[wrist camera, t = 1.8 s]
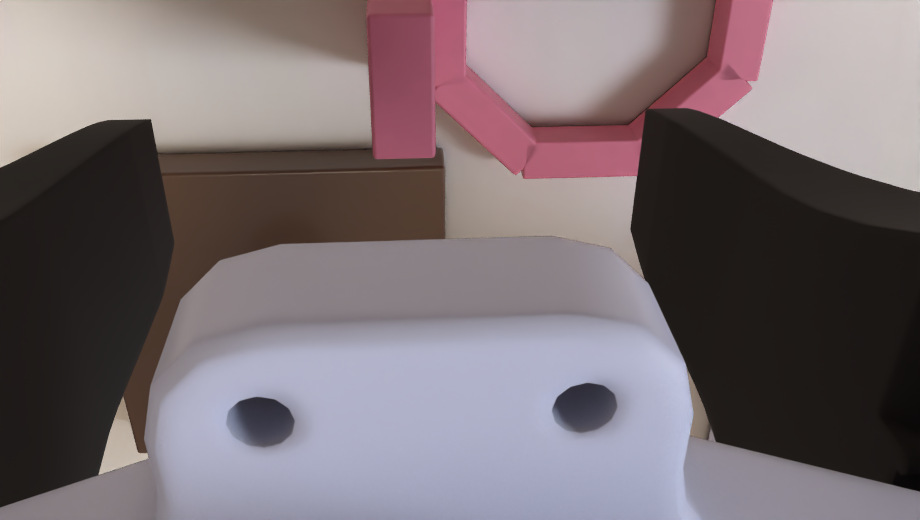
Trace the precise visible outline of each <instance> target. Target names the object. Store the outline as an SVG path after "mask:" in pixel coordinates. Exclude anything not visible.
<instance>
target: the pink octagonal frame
mask: <svg viewBox="0 0 920 520" xmlns="http://www.w3.org/2000/svg"><path fill="white" fill-rule="evenodd" d="M772 3H773V0H716V4H715V10H714V16H713V22H712V29H711V35H710V41H709V47H708V53H707V57H706V58H705V59H704V60H703V61H702V62H700V63H699V64H698V65H697V66H696V67H695V68H694V69H692V70H691V71H690V72H689V73H688V74H687V75H685V76H684V77H683V78H682V79H681V80H680V81H679V82H677V83H676V84H675V85H674V86H673V87H672V88H671V89H669V90H668V91H667V92H666V93H665V94H664V95H663V96H661V97H660V98H659V99H658V100H657V101H656V102H654V103H653V104H652V105H651V106H650V107H649V108H648V109H660V108H689V109H694V110H698V111H701V112H704V113H707V114H709V115H712V116H714V117H717V118H718V117H719V116H721V115H722V114H723V113H724V112H725V111H727V110H728V109H729V108H730V107H731V106H733V105H734V104H735V103H736V102H737V101H739V100H740V99H741V98H742V97H743V96H744V95H746V94H747V93H748V92H749V91H750V90H751V89H752V87H751V86H750V84H749V83H748V82H747V81H757V80H758V75H759V70H760V65H761V60H762V55H763V49H764V44H765V39H766V34H767V29H768V24H769V19H770V13H771V8H772ZM466 20H467V0H367V11H366V28H367V48H368V67H369V87H370V107H371V127H372V147H373V156H374V158H375V159H411V158H433V157H434V156H435V154H436V130H435V103H437V104H438V105H439V106H440V107H441V108H442V109H443V110H444V111H445V112H446V113H447V114H449V115H450V116H451V117H452V118H453V119H454V120H455V121H456V122H457V123H458V124H459V125H461V126H462V127H463V128H464V129H465V130H466V131H467V132H468V133H469V134H470V135H471V136H473V137H474V138H475V139H476V140H477V141H478V142H479V143H480V144H481V145H482V146H483V147H485V148H486V149H487V150H488V151H489V152H490V153H491V154H492V155H493V156H494V157H495V158H497V159H498V160H499V161H500V162H501V163H502V164H503V165H504V166H505V167H506V168H507V169H508V170H510V171H511V172H512V173H513V174H515V175H516V174H518V173H519V172H520V171H521V173H522V176H523V178H524V179H538V178H577V177H616V176H637V173H638V166H639V158H640V150H641V142H642V134H643V126H644V118H645V111H646V110H645V111H644V112H643V113H642V114H641V115H640V116H638V117H637V118H636V119H635V120H634V121H633V122H631V123H630V124H629V125H610V126H565V127H531V126H530V125H529V124H528V123H527V122H526V121H524V120H523V119H522V118H521V117H520V116H519V115H518V114H517V113H516V112H515V111H514V110H513V109H512V108H511V107H510V106H509V105H508V104H507V103H506V102H505V101H504V100H503V99H502V98H501V97H500V96H499V95H498V94H496V93H495V92H494V91H493V90H492V89H491V88H490V87H489V86H488V85H487V84H486V83H485V82H484V81H483V80H482V79H481V78H480V77H479V76H478V75H477V74H476V73H475V72H474V71H473V70H472V69H471V68H469V67H468V66H467V65H466Z"/></svg>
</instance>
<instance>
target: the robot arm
mask: <svg viewBox="0 0 920 520" xmlns="http://www.w3.org/2000/svg"><path fill="white" fill-rule="evenodd" d="M631 233H632V237H633V240H634V244H635V248H636V252H637V256H638V259H639V262H640V266H641V269H642V272H643V275H644V279H645V280H644V279H643V278H642V277H641V276H640V275H639V274H638V273H637V272H636V271H635V270H634V269H632V268H631V267H630V266H629V265H628V264H627V263H626V262H625V261H624V260H623V259H622V258H621V257H620V256H618V255H617V254H616V253H615V252H614V251H613V250H612V249H611V248H608V247H603V246H598V245H594V244H589V243H584V242H579V241H574V240H569V239H564V238H560V237H555V236H530V237H497V238H465V239H432V240H400V241H367V242H335V243H302V244H279V245H276V246H272V247H268V248H264V249H261V250H257V251H253V252H249V253H246V254H242V255H238V256H234V257H230V258H227V259H223V260H219V262H218V263H217V264H216V265H215V266H214V267H213V268H212V269H211V270H210V271H209V272H208V273H207V274H206V275H205V276H204V277H203V278H202V279H201V280H200V281H199V282H198V283H197V284H196V285H195V286H194V287H193V288H192V289H191V290H190V291H189V292H188V293H187V294H186V295H185V296H184V297H183V298H182V299H181V300H180V303H179V306H178V309H177V311H176V314H175V317H174V320H173V323H172V326H171V329H170V331H169V334H168V337H167V340H166V343H165V346H164V349H163V351H162V354H161V357H160V360H159V363H158V366H157V368H156V371H155V374H154V377H153V380H152V383H151V386H150V393H149V401H148V409H147V418H146V426H145V435H144V441H145V445H146V449H147V453H148V457H149V459H146V460H143V461H140V462H137V463H134V464H131V465H128V466H125V467H122V468H119V469H116V470H113V471H110V472H107V473H104V474H101V475H98V474H99V470H100V466H101V462H102V459H103V455H104V451H105V447H106V443H107V440H108V436H109V432H110V429H111V427H112V424H113V421H114V418H115V415H116V412H117V409H118V406H119V404H120V402H121V399H122V397H123V394H124V392H125V389H126V387H127V385H128V382H129V380H130V377H131V375H132V372H133V370H134V367H135V365H136V363H137V360H138V358H139V355H140V353H141V350H142V348H143V346H144V343H145V341H146V338H147V336H148V333H149V331H150V328H151V326H152V323H153V321H154V318H155V316H156V313H157V311H158V308H159V306H160V303H161V300H162V298H163V295H164V291H165V286H166V282H167V278H168V274H169V269H170V264H171V259H172V254H173V249H174V244H175V242H174V237H173V232H172V226H171V221H170V216H169V211H168V206H167V201H166V195H165V190H164V185H163V180H162V175H161V170H160V164H159V159H158V154H157V149H156V144H155V139H154V133H153V128H152V123H151V119H145V120H107V121H103V122H98V123H95V124H92V125H90V126H87V127H85V128H83V129H80V130H78V131H76V132H74V133H72V134H69V135H67V136H65V137H63V138H61V139H59V140H57V141H55V142H53V143H51V144H49V145H47V146H45V147H43V148H41V149H39V150H37V151H35V152H33V153H31V154H28V155H26V156H24V157H22V158H20V159H18V160H16V161H14V162H12V163H10V164H8V165H6V166H3V167H1V168H0V520H920V192H916V191H912V190H907V189H903V188H900V187H896V186H893V185H889V184H886V183H883V182H879V181H876V180H872V179H869V178H865V177H862V176H859V175H856V174H853V173H850V172H847V171H844V170H841V169H838V168H835V167H833V166H830V165H828V164H825V163H822V162H820V161H817V160H814V159H812V158H809V157H807V156H804V155H802V154H799V153H797V152H794V151H792V150H790V149H787V148H785V147H783V146H780V145H778V144H776V143H773V142H771V141H769V140H767V139H764V138H762V137H760V136H758V135H755V134H753V133H751V132H749V131H747V130H744V129H742V128H740V127H738V126H735V125H733V124H731V123H729V122H726V121H724V120H722V119H719V118H717V117H714V116H712V115H709V114H707V113H704V112H701V111H698V110H694V109H689V108H660V109H646V111H645V118H644V126H643V134H642V142H641V150H640V158H639V166H638V173H637V181H636V189H635V197H634V205H633V213H632V221H631ZM686 367H687V368H686ZM687 369H688V371H689V373H690V375H691V377H692V379H693V382H694V384H695V386H696V388H697V391H698V393H699V396H700V398H701V400H702V403H703V405H704V408H705V411H706V414H707V417H708V420H709V423H710V426H711V430H710V434H709V439H708V440H706V439H701V438H697V437H693V436H689V435H690V430H691V425H692V420H693V415H694V413H693V407H692V400H691V394H690V387H689V381H688V374H687Z"/></svg>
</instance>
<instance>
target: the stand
mask: <svg viewBox="0 0 920 520" xmlns="http://www.w3.org/2000/svg"><path fill="white" fill-rule="evenodd" d="M158 159H159V164H160V170H161V175H162V180H163V185H164V190H165V195H166V201H167V206H168V211H169V216H170V221H171V226H172V232H173V237H174V242H175V244H174V249H173V254H172V259H171V264H170V269H169V274H168V278H167V282H166V286H165V291H164V295H163V298H162V300H161V303H160V306H159V308H158V311H157V313H156V316H155V318H154V321H153V323H152V326H151V328H150V331H149V333H148V336H147V338H146V341H145V343H144V346H143V348H142V350H141V353H140V355H139V358H138V360H137V363H136V365H135V367H134V370H133V372H132V375H131V377H130V380H129V382H128V385H127V387H126V389H125V392H124V394H123V396H124V400H125V403H126V407H127V411H128V415H129V419H130V423H131V427H132V431H133V435H134V439H135V442H136V446H137V450H138V452H139V453H147V449H146V445H145V441H144V435H145V426H146V418H147V409H148V401H149V393H150V386H151V383H152V380H153V377H154V374H155V371H156V368H157V366H158V363H159V360H160V357H161V354H162V351H163V349H164V346H165V343H166V340H167V337H168V334H169V331H170V329H171V326H172V323H173V320H174V317H175V314H176V311H177V309H178V306H179V303H180V300H181V299H182V298H183V297H184V296H185V295H186V294H187V293H188V292H189V291H190V290H191V289H192V288H193V287H194V286H195V285H196V284H197V283H198V282H199V281H200V280H201V279H202V278H203V277H204V276H205V275H206V274H207V273H208V272H209V271H210V270H211V269H212V268H213V267H214V266H215V265H216V264H217V263H218V262H219V260H223V259H227V258H230V257H234V256H238V255H242V254H246V253H249V252H253V251H257V250H261V249H264V248H268V247H272V246H276V245H279V244H302V243H335V242H367V241H400V240H432V239H445V164H444V157H443V151H442V149H441V148H436V154H435V156H434V157H433V158H411V159H375V158H374V156H373V150H333V151H291V152H248V153H205V154H162V155H158Z"/></svg>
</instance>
